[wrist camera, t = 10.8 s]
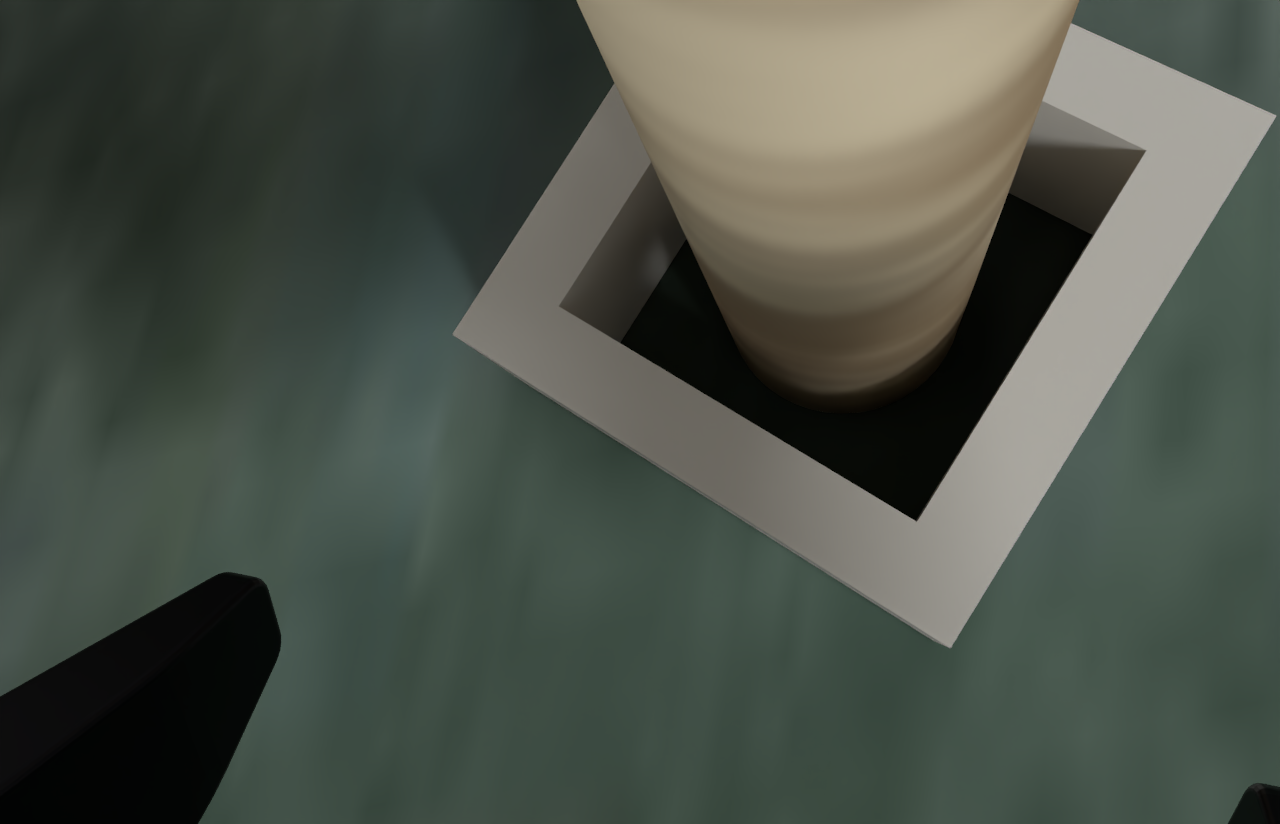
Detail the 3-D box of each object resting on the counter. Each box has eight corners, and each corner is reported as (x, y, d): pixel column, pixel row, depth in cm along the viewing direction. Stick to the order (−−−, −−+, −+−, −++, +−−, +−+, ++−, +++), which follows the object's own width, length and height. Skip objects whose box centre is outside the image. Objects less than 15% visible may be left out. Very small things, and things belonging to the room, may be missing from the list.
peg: (883, 457, 18) (943, 129, 6) (686, 340, 19) (365, -155, 7) (1006, 258, 18) (1329, -486, 6) (804, 153, 19) (709, -674, 7)
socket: (932, 640, 18) (950, 648, 14) (521, 380, 20) (452, 334, 16) (1197, 208, 18) (1276, 115, 15) (765, -1, 20) (747, -123, 17)
